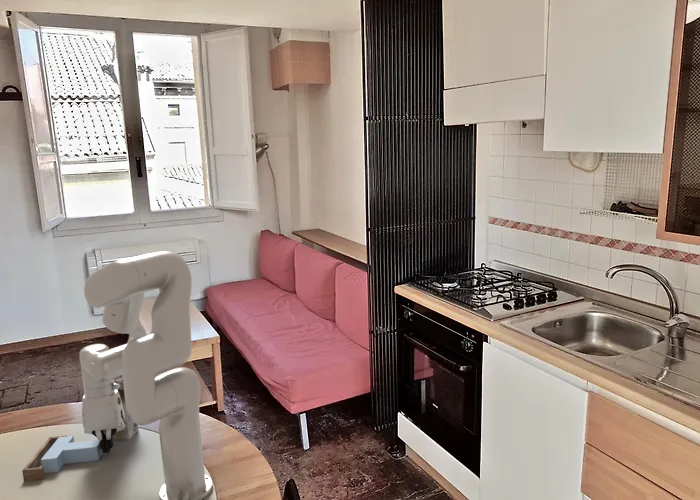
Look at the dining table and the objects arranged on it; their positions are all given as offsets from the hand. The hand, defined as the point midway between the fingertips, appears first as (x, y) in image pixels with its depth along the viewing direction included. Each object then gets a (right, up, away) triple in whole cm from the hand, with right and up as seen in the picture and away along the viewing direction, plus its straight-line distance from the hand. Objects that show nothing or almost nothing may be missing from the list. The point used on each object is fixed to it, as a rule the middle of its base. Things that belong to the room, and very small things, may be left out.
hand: (107, 450), depth 156 cm
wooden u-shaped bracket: (-16, -3, -2) cm, 16 cm away
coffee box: (-1, 0, +12) cm, 12 cm away
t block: (-8, -2, -1) cm, 9 cm away
